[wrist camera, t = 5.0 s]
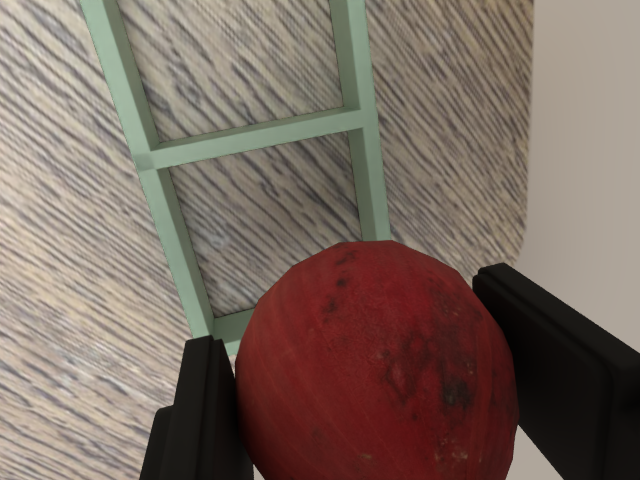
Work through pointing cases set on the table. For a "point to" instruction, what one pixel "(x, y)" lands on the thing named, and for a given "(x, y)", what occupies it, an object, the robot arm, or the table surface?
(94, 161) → the table surface
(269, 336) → the red pomegranate
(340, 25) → the green rectangular frame
